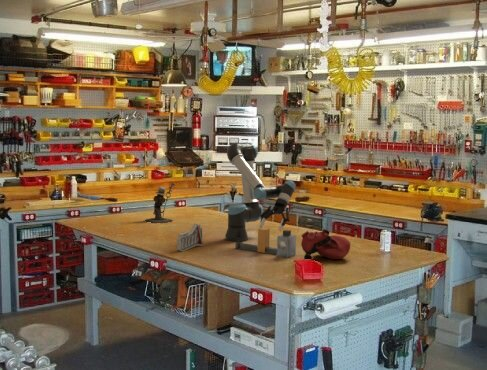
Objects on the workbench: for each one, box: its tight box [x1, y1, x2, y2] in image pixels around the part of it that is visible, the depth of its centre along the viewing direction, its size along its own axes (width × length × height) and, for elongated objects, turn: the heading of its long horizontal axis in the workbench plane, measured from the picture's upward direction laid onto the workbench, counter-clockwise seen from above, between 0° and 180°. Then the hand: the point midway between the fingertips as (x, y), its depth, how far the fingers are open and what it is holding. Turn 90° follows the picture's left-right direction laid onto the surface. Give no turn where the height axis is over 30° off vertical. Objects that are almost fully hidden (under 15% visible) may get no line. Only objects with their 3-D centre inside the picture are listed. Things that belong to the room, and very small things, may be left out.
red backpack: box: [300, 228, 351, 260], centre depth 354 cm, size 24×20×30 cm
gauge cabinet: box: [276, 233, 297, 259], centre depth 362 cm, size 7×10×12 cm
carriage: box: [257, 227, 271, 254], centre depth 371 cm, size 5×6×14 cm
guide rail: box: [234, 241, 277, 256], centre depth 373 cm, size 31×5×4 cm, turn 56°
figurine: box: [144, 182, 176, 224], centre depth 475 cm, size 23×23×30 cm
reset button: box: [282, 229, 292, 237], centre depth 361 cm, size 3×3×6 cm
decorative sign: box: [176, 223, 204, 252], centre depth 377 cm, size 23×3×15 cm, turn 149°
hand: (269, 228), depth 375 cm, fingers open, 13 cm apart
